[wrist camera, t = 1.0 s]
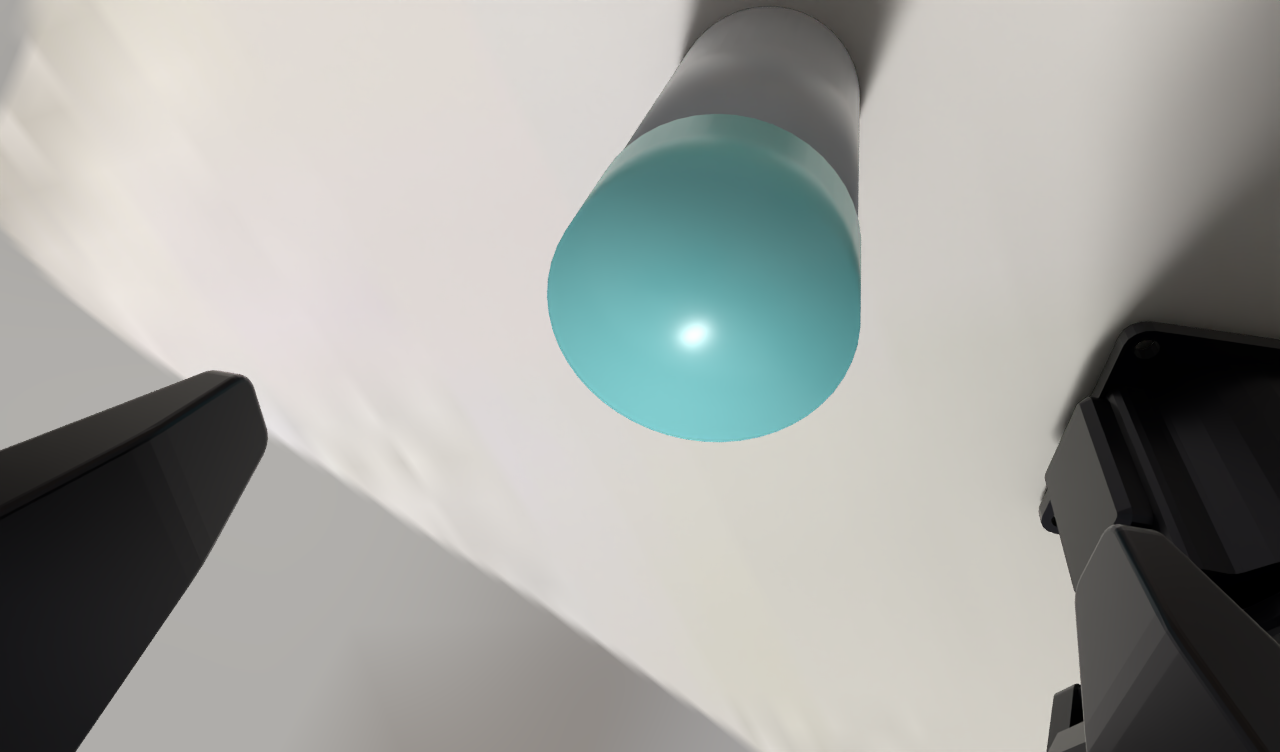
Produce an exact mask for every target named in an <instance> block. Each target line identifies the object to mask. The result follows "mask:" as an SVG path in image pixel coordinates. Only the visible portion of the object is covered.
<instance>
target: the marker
mask: <svg viewBox="0 0 1280 752" xmlns="http://www.w3.org/2000/svg"><path fill="white" fill-rule="evenodd" d="M859 118H860V90H859V82H858V77H857V73H856V70H855V66H854V64H853V62H852V59H851V57H850V55H849V53H848V52H847V50H846V48H845V47H844V45H843V44H842V42H841V41H840V40H839V39H838V38H837V36H836V35H835V34H834V33H833V32H832V31H831V30H829V29H828V28H827V27H826V26H825V25H823V24H822V23H820V22H819V21H817V20H816V19H814V18H812V17H810V16H808V15H806V14H804V13H802V12H799V11H795V10H792V9H788V8H782V7H756V8H750V9H746V10H742V11H739V12H736V13H734V14H731V15H729V16H727V17H725V18H723V19H722V20H720V21H718V22H716V23H715V24H714V25H712V26H711V27H710V28H709V29H707V30H706V31H705V32H704V33H703V34H702V35H701V36H700V37H699V38H698V39H697V40H696V42H695V43H694V44H693V46H692V47H691V48H690V50H689V51H688V53H687V54H686V56H685V57H684V59H683V60H682V62H681V63H680V65H679V66H678V68H677V69H676V71H675V72H674V74H673V75H672V77H671V79H670V80H669V82H668V83H667V85H666V86H665V88H664V89H663V91H662V92H661V94H660V95H659V97H658V98H657V100H656V101H655V103H654V104H653V106H652V107H651V109H650V110H649V112H648V114H647V115H646V117H645V118H644V120H643V121H642V123H641V124H640V126H639V127H638V129H637V130H636V132H635V133H634V135H633V136H632V138H631V139H630V141H629V142H628V144H627V145H626V147H625V148H624V150H623V151H622V152H621V153H620V154H619V155H618V156H617V157H616V158H615V159H614V161H613V162H612V163H611V164H610V166H609V167H608V168H607V170H606V171H605V173H604V174H603V176H602V177H601V179H600V180H599V181H598V183H597V184H596V186H595V187H594V189H593V190H592V192H591V193H590V195H589V196H588V198H587V199H586V201H585V202H584V204H583V205H582V207H581V208H580V210H579V211H578V213H577V214H576V216H575V217H574V219H573V220H572V222H571V223H570V225H569V226H568V228H567V229H566V231H565V233H564V235H563V237H562V238H561V240H560V242H559V244H558V246H557V248H556V251H555V254H554V257H553V259H552V262H551V267H550V272H549V277H548V290H547V300H548V310H549V316H550V320H551V324H552V329H553V332H554V334H555V337H556V340H557V342H558V345H559V347H560V349H561V351H562V353H563V355H564V356H565V358H566V360H567V362H568V363H569V365H570V366H571V368H572V369H573V371H574V372H575V373H576V375H577V376H578V377H579V378H580V380H581V381H582V382H583V383H584V384H585V385H586V386H587V387H588V389H589V390H590V391H591V392H593V393H594V394H595V395H596V396H597V397H598V398H599V399H600V400H602V401H603V402H604V403H605V404H607V405H608V406H609V407H611V408H612V409H614V410H615V411H616V412H618V413H619V414H621V415H623V416H625V417H626V418H628V419H630V420H632V421H633V422H635V423H638V424H640V425H642V426H644V427H647V428H649V429H651V430H654V431H657V432H660V433H663V434H666V435H670V436H674V437H678V438H683V439H688V440H696V441H704V442H729V441H741V440H746V439H752V438H757V437H761V436H764V435H767V434H771V433H774V432H777V431H779V430H781V429H783V428H786V427H788V426H790V425H792V424H794V423H796V422H797V421H799V420H801V419H803V418H804V417H806V416H808V415H809V414H810V413H811V412H813V411H814V410H815V409H816V408H818V407H819V406H820V405H821V404H822V403H823V402H824V401H825V400H826V399H827V398H828V397H829V396H830V395H831V394H832V393H833V392H834V391H835V389H836V388H837V386H838V385H839V384H840V382H841V381H842V379H843V378H844V376H845V374H846V372H847V370H848V368H849V366H850V364H851V363H852V360H853V357H854V354H855V351H856V348H857V345H858V338H859V332H860V309H861V234H860V227H859V220H858V182H859Z"/></svg>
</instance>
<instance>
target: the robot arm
mask: <svg viewBox="0 0 1280 752" xmlns="http://www.w3.org/2000/svg"><path fill="white" fill-rule="evenodd" d="M1144 340H1153V341H1154V343H1153V344H1152V345H1151V346H1150V347H1147V348H1145V349H1136V348H1135V347H1136V345H1137V344H1138V343H1140V342H1142V341H1144ZM267 440H268V433H267V428H266V425H265V422H264V418H263V415H262V412H261V409H260V405H259V402H258V399H257V396H256V392H255V389H254V386H253V384H252V383H251V381H250V380H249V379H248V378H247V377H245V376H243V375H240V374H235V373H229V372H223V371H214V370H212V371H206V372H203V373H201V374H198V375H196V376H193V377H190V378H188V379H185V380H183V381H180V382H177V383H175V384H172V385H170V386H167V387H164V388H162V389H159V390H156V391H154V392H151V393H149V394H146V395H143V396H141V397H138V398H136V399H133V400H130V401H128V402H125V403H123V404H120V405H117V406H115V407H112V408H110V409H107V410H105V411H102V412H99V413H97V414H94V415H91V416H89V417H86V418H84V419H81V420H79V421H76V422H73V423H70V424H68V425H65V426H63V427H60V428H58V429H55V430H52V431H50V432H47V433H44V434H42V435H40V436H37V437H34V438H31V439H29V440H26V441H24V442H21V443H18V444H16V445H13V446H11V447H8V448H5V449H3V450H0V752H76V750H77V749H78V748H79V746H80V744H81V743H82V742H83V740H84V739H85V737H86V736H87V734H88V733H89V731H90V730H91V729H92V727H93V726H94V724H95V723H96V721H97V720H98V718H99V717H100V715H101V714H102V713H103V711H104V710H105V708H106V707H107V705H108V704H109V702H110V701H111V699H112V698H113V696H114V695H115V693H116V692H117V690H118V689H119V688H120V686H121V685H122V683H123V682H124V680H125V679H126V677H127V676H128V674H129V673H130V671H131V670H132V669H133V667H134V666H135V664H136V663H137V661H138V660H139V658H140V657H141V655H142V654H143V652H144V651H145V650H146V648H147V647H148V645H149V644H150V642H151V641H152V639H153V638H154V636H155V635H156V634H157V632H158V631H159V629H160V628H161V626H162V625H163V623H164V622H165V620H166V619H167V617H168V616H169V614H170V613H171V612H172V610H173V609H174V607H175V606H176V604H177V603H178V601H179V600H180V598H181V597H182V595H183V594H184V593H185V591H186V590H187V588H188V587H189V585H190V584H191V582H192V581H193V579H194V578H195V576H196V575H197V573H198V571H199V570H200V568H201V567H202V565H203V564H204V562H205V560H206V558H207V557H208V555H209V553H210V551H211V550H212V548H213V546H214V545H215V543H216V541H217V539H218V537H219V535H220V534H221V532H222V530H223V528H224V526H225V524H226V523H227V521H228V519H229V517H230V515H231V513H232V512H233V510H234V508H235V506H236V504H237V502H238V500H239V498H240V497H241V495H242V493H243V491H244V489H245V488H246V486H247V484H248V482H249V480H250V478H251V476H252V474H253V473H254V471H255V469H256V467H257V465H258V464H259V462H260V460H261V458H262V456H263V454H264V452H265V449H266V446H267ZM1045 481H1046V485H1047V491H1046V493H1045V496H1044V498H1043V500H1042V502H1041V504H1040V506H1039V516H1040V520H1041V523H1042V525H1043V527H1044V528H1045V529H1046V530H1047V531H1049V532H1052V533H1055V534H1059V535H1060V538H1061V542H1062V546H1063V550H1064V554H1065V558H1066V561H1067V565H1068V569H1069V573H1070V577H1071V581H1072V584H1073V588H1074V591H1075V593H1076V594H1075V611H1076V625H1077V638H1078V652H1079V665H1080V679H1081V685H1079V684H1074V685H1072V686H1070V687H1068V688H1066V689H1064V690H1062V691H1060V692H1058V693H1056V694H1055V695H1054V699H1053V707H1052V714H1051V722H1050V729H1049V737H1048V745H1047V752H1280V340H1277V339H1270V338H1263V337H1256V336H1249V335H1242V334H1235V333H1228V332H1221V331H1214V330H1207V329H1200V328H1193V327H1186V326H1179V325H1172V324H1165V323H1158V322H1139V323H1135V324H1132V325H1130V326H1129V327H1127V328H1126V329H1124V330H1123V332H1122V333H1121V334H1120V336H1119V337H1118V340H1117V342H1116V344H1115V346H1114V348H1113V350H1112V352H1111V354H1110V357H1109V359H1108V361H1107V363H1106V365H1105V367H1104V369H1103V372H1102V374H1101V376H1100V378H1099V380H1098V382H1097V384H1096V387H1095V389H1094V391H1093V393H1092V395H1091V397H1086V398H1085V399H1084V400H1082V401H1081V402H1079V403H1078V404H1077V406H1076V408H1075V410H1074V412H1073V414H1072V417H1071V419H1070V421H1069V423H1068V425H1067V428H1066V430H1065V432H1064V434H1063V436H1062V438H1061V441H1060V443H1059V445H1058V447H1057V449H1056V452H1055V454H1054V456H1053V458H1052V460H1051V462H1050V465H1049V467H1048V469H1047V471H1046V473H1045Z"/></svg>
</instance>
